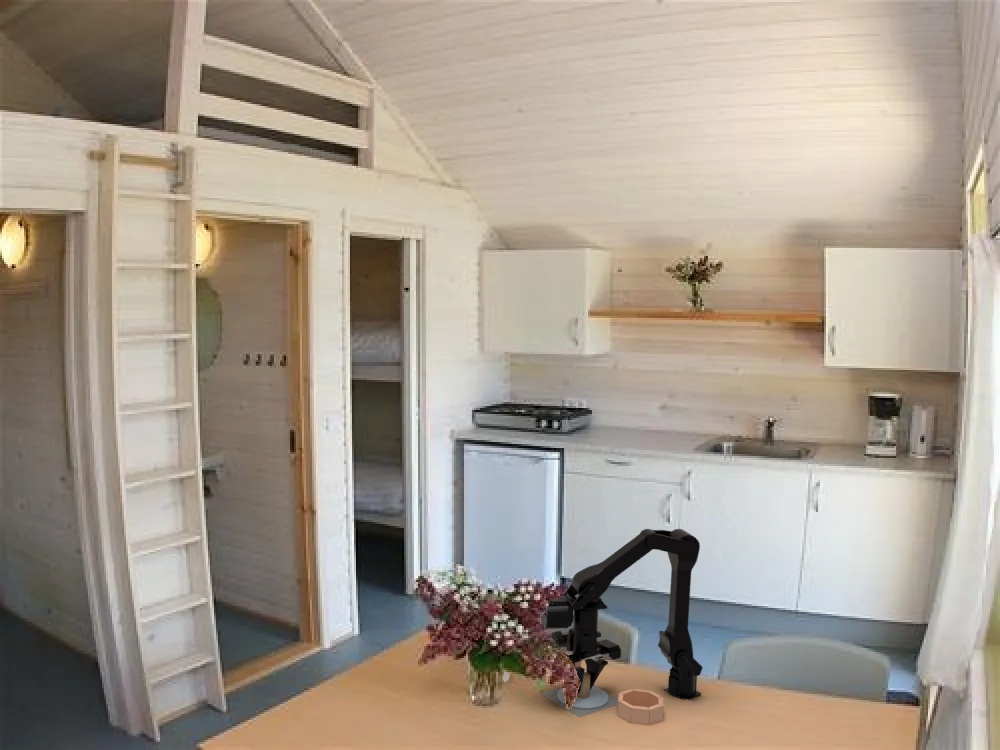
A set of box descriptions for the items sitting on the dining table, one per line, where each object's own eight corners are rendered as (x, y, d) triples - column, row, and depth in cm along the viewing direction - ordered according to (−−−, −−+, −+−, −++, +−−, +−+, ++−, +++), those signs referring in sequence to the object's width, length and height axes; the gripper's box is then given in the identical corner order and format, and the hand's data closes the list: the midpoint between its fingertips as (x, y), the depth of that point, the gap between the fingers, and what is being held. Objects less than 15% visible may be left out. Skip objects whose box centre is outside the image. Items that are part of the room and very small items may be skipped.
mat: (585, 682, 217) (585, 680, 217) (624, 704, 206) (625, 702, 206) (540, 695, 209) (540, 693, 209) (579, 719, 198) (579, 716, 198)
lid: (585, 682, 216) (586, 660, 215) (619, 701, 206) (620, 678, 206) (546, 694, 209) (547, 671, 208) (579, 714, 199) (580, 690, 199)
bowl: (640, 702, 207) (641, 685, 207) (671, 719, 199) (672, 702, 199) (608, 712, 201) (609, 695, 201) (639, 730, 193) (640, 712, 193)
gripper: (592, 609, 218) (590, 670, 219) (532, 623, 207) (530, 687, 208) (623, 623, 209) (621, 687, 210) (562, 638, 198) (560, 705, 199)
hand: (582, 691), depth 207 cm, fingers closed on lid, 3 cm apart
